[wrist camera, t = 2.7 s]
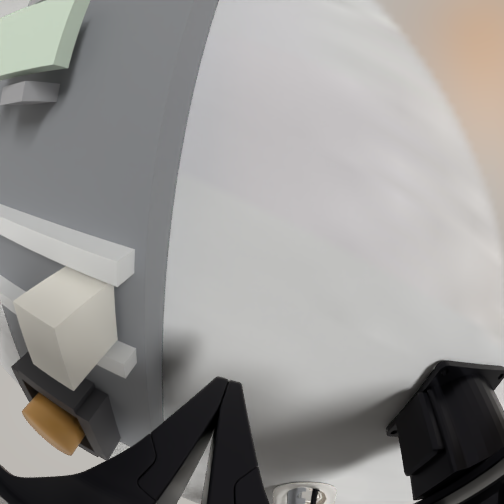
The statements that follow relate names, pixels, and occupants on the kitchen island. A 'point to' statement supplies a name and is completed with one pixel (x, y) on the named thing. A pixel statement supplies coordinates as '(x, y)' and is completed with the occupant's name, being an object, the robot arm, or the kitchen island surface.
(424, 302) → the kitchen island surface
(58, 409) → the button
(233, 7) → the kitchen island surface
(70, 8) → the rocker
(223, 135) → the kitchen island surface
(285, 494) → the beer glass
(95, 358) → the cream rectangular brick
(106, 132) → the panel
